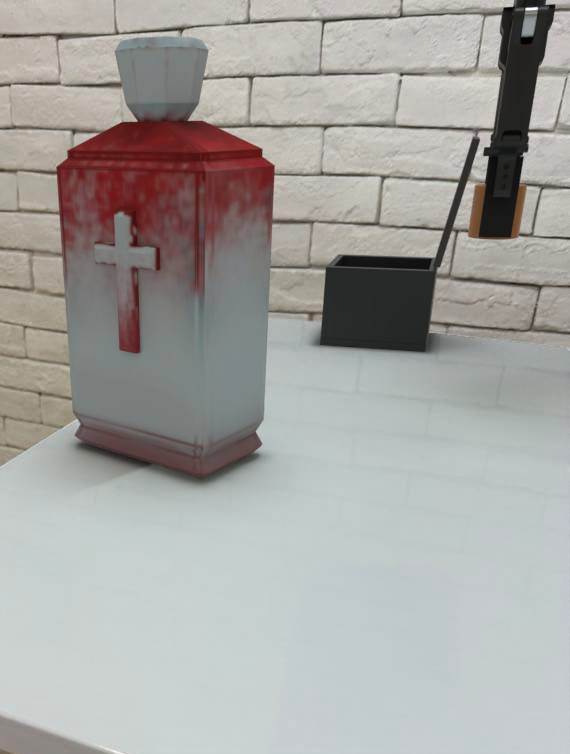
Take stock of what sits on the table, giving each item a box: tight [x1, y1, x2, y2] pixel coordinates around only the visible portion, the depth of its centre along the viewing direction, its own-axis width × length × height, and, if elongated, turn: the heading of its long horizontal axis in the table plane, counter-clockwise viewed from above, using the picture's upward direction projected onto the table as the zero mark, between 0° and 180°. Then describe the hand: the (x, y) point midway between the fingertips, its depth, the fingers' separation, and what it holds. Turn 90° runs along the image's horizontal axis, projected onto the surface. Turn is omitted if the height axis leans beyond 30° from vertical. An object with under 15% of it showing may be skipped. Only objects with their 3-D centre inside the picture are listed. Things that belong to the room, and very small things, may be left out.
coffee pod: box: [467, 183, 528, 241], centre depth 74 cm, size 4×4×4 cm
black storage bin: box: [319, 253, 439, 352], centre depth 102 cm, size 13×11×9 cm
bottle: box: [55, 35, 276, 480], centre depth 63 cm, size 14×10×30 cm
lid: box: [433, 135, 481, 268], centre depth 95 cm, size 13×11×1 cm
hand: (494, 232), depth 75 cm, fingers closed on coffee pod, 4 cm apart
